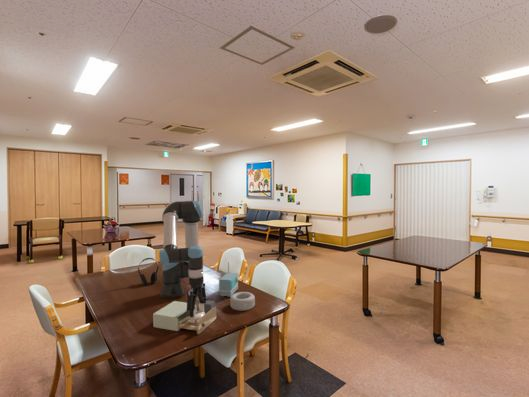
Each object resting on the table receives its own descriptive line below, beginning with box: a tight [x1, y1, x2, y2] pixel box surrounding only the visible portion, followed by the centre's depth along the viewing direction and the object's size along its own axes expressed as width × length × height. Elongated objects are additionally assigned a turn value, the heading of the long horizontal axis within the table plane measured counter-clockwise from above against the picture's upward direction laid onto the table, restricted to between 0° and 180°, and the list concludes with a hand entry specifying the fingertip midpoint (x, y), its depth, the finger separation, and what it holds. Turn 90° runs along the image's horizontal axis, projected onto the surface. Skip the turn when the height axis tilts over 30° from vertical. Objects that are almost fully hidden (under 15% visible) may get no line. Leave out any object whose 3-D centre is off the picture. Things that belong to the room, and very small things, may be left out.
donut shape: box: [229, 291, 256, 312], centre depth 176 cm, size 15×15×7 cm
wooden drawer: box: [179, 306, 217, 335], centre depth 153 cm, size 16×18×6 cm
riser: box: [204, 299, 216, 314], centre depth 168 cm, size 5×5×6 cm
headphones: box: [137, 257, 159, 286], centre depth 220 cm, size 9×15×20 cm, turn 123°
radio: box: [218, 261, 239, 298], centre depth 197 cm, size 16×9×20 cm, turn 167°
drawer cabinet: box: [152, 300, 198, 332], centre depth 157 cm, size 15×18×7 cm
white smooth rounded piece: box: [195, 310, 205, 321], centre depth 153 cm, size 8×8×2 cm
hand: (197, 318), depth 153 cm, fingers closed on white smooth rounded piece, 8 cm apart
